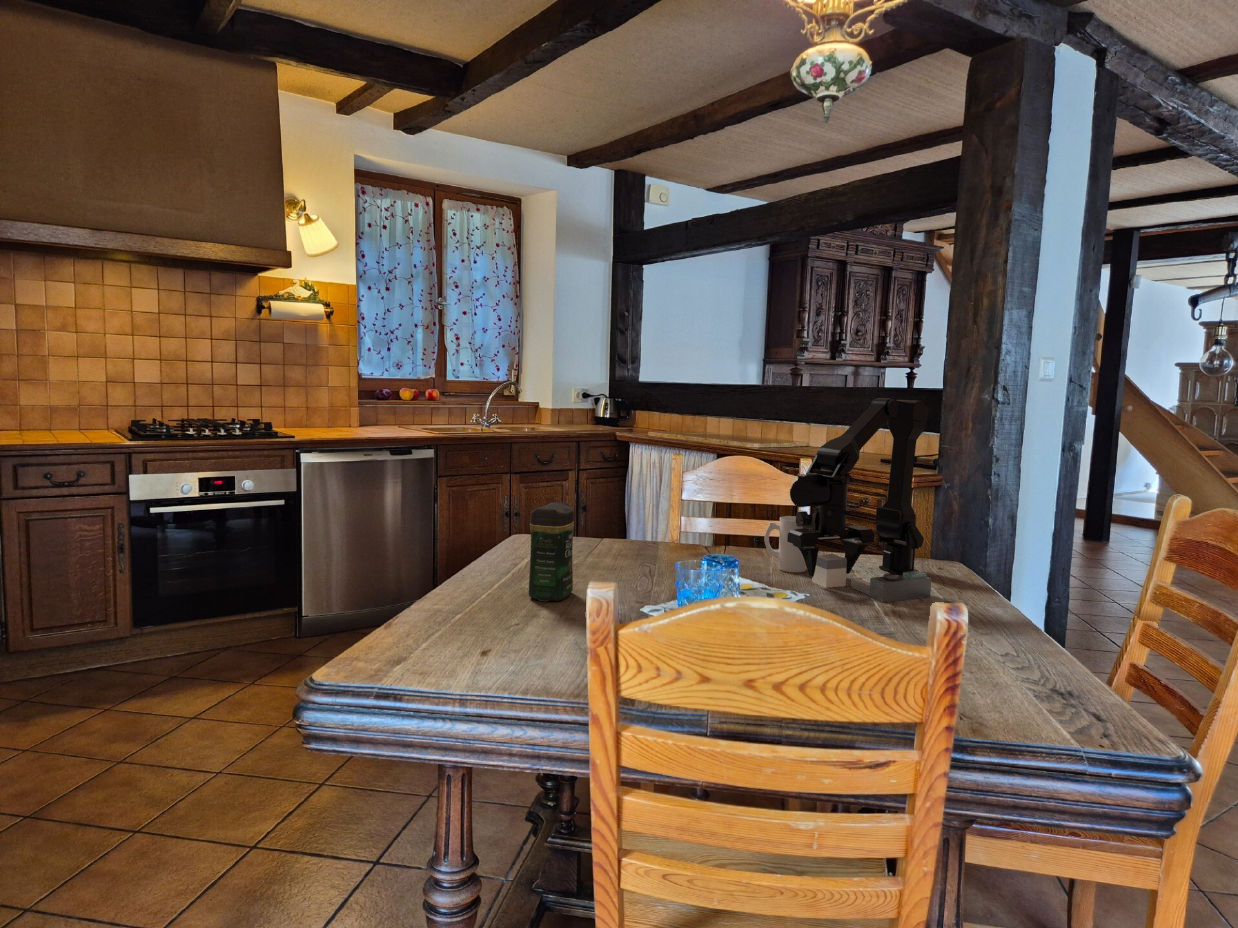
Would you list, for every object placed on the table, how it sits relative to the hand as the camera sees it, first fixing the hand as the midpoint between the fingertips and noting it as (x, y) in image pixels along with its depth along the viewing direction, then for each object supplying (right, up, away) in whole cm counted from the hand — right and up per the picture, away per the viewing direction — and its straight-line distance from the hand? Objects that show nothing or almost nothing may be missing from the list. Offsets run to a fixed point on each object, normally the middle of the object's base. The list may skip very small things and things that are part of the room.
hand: (829, 574), depth 165 cm
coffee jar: (-59, -2, -13) cm, 61 cm away
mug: (-7, -1, +13) cm, 14 cm away
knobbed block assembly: (+11, -3, -7) cm, 13 cm away
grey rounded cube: (0, -2, 0) cm, 2 cm away
